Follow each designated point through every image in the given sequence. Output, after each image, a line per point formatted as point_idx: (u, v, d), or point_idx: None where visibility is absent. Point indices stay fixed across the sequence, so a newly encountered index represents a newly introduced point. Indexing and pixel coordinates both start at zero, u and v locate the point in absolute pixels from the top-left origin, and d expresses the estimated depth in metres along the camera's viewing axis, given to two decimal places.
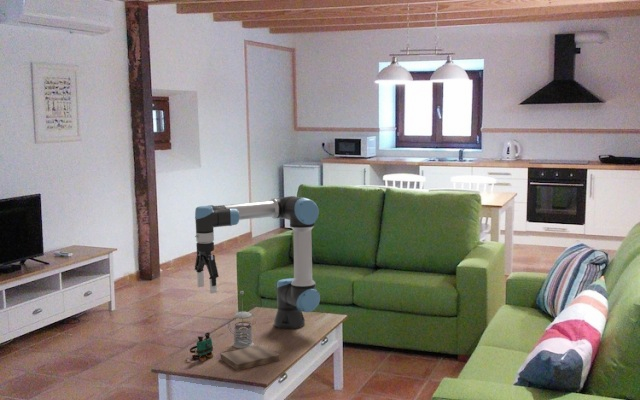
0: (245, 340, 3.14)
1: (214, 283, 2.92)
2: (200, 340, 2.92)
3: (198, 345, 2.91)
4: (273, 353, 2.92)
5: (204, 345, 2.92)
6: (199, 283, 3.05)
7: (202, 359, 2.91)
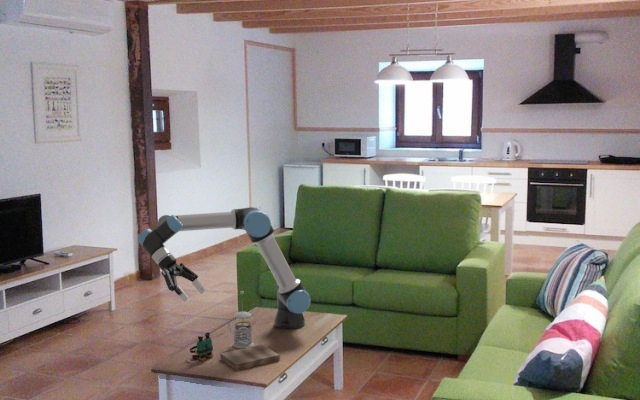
0: (245, 340, 3.14)
1: (177, 292, 2.91)
2: (200, 340, 2.92)
3: (198, 345, 2.91)
4: (273, 353, 2.92)
5: (204, 345, 2.92)
6: (199, 290, 3.04)
7: (202, 359, 2.91)
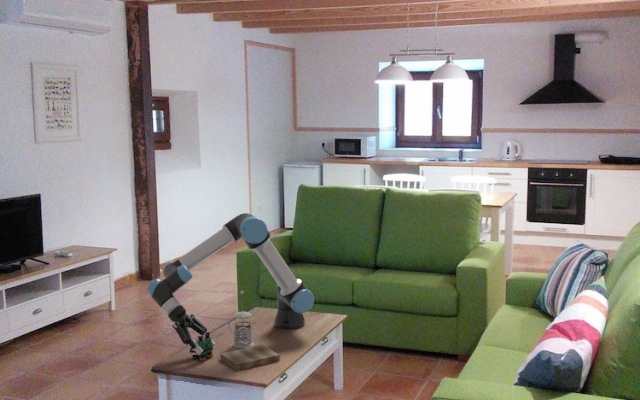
0: (245, 340, 3.14)
1: (192, 346, 2.90)
2: (200, 340, 2.92)
3: None
4: (273, 353, 2.92)
5: (204, 345, 2.92)
6: None
7: (202, 359, 2.92)
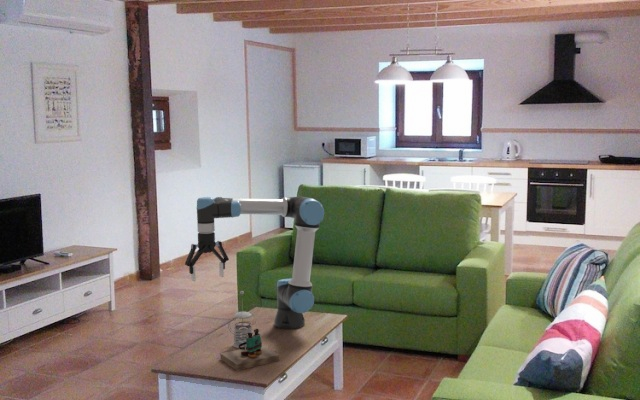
0: (245, 340, 3.14)
1: (190, 271, 3.04)
2: (250, 336, 2.87)
3: (248, 341, 2.87)
4: (273, 353, 2.92)
5: (254, 341, 2.88)
6: (220, 272, 3.13)
7: (252, 356, 2.87)
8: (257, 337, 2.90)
